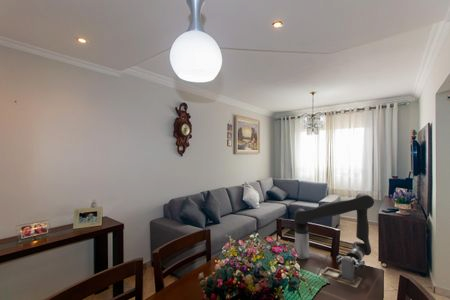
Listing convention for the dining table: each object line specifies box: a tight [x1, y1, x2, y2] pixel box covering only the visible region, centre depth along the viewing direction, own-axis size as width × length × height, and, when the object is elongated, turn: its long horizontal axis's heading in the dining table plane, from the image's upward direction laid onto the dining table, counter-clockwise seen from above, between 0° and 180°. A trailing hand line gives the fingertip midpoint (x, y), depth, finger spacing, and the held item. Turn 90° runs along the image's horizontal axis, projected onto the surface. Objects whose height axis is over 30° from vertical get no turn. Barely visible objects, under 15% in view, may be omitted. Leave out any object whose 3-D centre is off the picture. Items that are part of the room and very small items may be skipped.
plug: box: [340, 255, 355, 282], centre depth 132 cm, size 5×5×12 cm
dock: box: [318, 266, 363, 288], centre depth 135 cm, size 20×12×2 cm, turn 47°
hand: (346, 266), depth 131 cm, fingers open, 8 cm apart
